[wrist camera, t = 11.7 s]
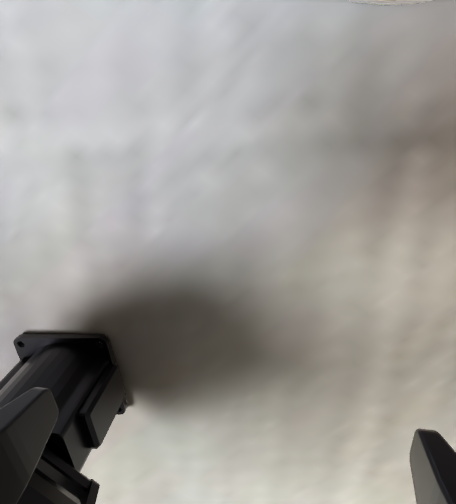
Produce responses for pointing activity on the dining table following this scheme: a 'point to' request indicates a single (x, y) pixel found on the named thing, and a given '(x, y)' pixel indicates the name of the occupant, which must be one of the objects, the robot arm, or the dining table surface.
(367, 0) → the rosette
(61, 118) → the dining table surface
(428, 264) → the dining table surface
